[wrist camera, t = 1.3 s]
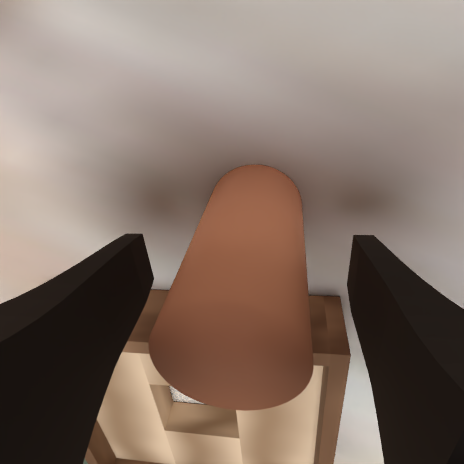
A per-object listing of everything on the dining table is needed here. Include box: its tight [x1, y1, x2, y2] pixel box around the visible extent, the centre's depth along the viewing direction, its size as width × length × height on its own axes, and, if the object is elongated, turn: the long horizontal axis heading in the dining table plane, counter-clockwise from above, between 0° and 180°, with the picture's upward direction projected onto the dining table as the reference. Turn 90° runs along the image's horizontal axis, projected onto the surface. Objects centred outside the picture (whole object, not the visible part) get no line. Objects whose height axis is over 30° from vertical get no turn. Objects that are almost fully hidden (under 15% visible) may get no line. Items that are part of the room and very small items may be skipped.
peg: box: [149, 165, 314, 411], centre depth 12 cm, size 4×4×8 cm
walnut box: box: [85, 290, 351, 464], centre depth 21 cm, size 16×16×4 cm
